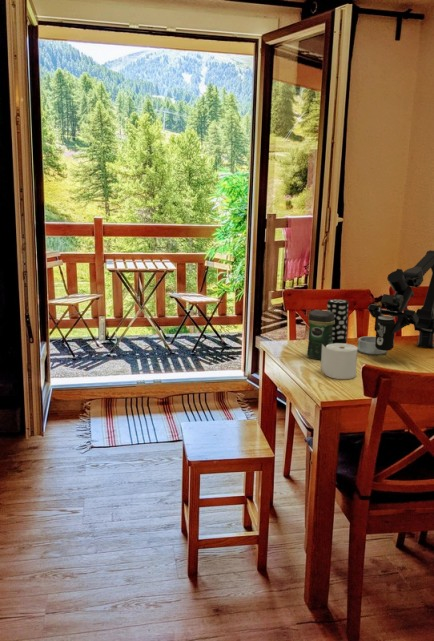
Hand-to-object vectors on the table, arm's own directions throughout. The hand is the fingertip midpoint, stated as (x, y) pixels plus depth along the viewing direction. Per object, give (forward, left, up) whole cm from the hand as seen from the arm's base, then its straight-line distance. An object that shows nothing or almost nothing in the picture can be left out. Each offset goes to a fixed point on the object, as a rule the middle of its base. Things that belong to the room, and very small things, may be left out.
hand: (383, 332), depth 202 cm
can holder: (-13, -5, -12) cm, 18 cm away
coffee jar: (+4, -22, -12) cm, 26 cm away
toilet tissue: (+22, -11, -12) cm, 27 cm away
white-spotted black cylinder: (-10, -19, -12) cm, 25 cm away
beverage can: (-1, +1, -7) cm, 7 cm away
